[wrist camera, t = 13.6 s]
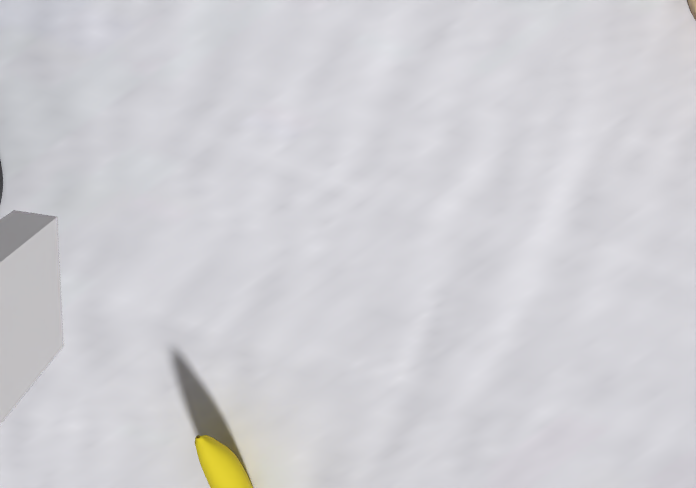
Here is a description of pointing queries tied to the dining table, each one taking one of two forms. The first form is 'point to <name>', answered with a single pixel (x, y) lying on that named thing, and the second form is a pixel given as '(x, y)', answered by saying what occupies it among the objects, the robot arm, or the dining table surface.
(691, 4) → the bobbin
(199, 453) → the banana
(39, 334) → the robot arm
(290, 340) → the dining table surface
